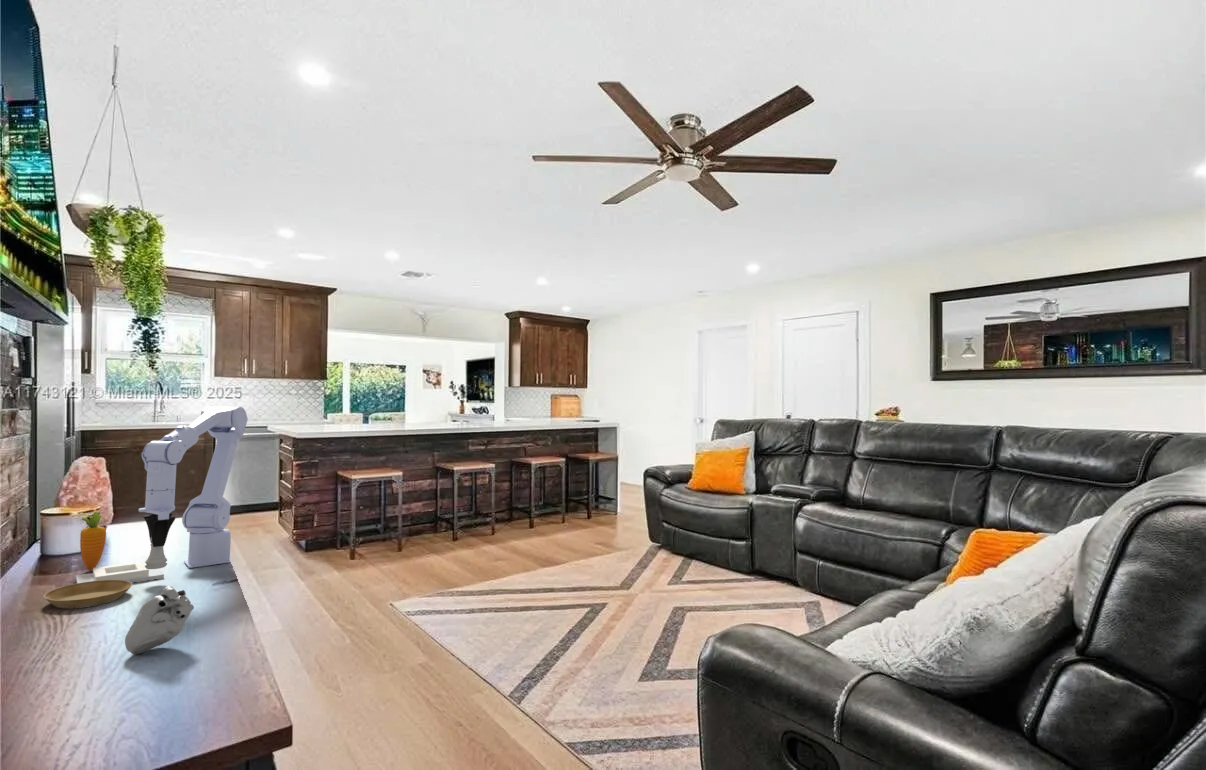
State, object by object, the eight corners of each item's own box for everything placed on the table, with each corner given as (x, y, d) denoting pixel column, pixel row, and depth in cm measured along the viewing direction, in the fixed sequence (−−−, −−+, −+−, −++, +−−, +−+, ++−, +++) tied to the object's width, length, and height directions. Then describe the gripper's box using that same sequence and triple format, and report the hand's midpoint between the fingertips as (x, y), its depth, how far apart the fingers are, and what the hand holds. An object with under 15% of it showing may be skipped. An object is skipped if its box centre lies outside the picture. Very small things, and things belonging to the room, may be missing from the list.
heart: (184, 630, 111) (174, 571, 110) (205, 642, 105) (195, 580, 104) (119, 658, 102) (107, 594, 101) (138, 672, 97) (126, 605, 96)
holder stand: (157, 567, 152) (158, 558, 152) (163, 578, 144) (164, 568, 144) (76, 579, 141) (76, 569, 141) (77, 591, 132) (78, 580, 133)
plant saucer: (128, 586, 138) (129, 575, 138) (135, 602, 127) (135, 590, 127) (43, 599, 127) (43, 587, 127) (42, 618, 117) (43, 605, 117)
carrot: (91, 573, 146) (95, 514, 146) (72, 573, 146) (76, 514, 146) (108, 568, 151) (112, 511, 151) (90, 567, 151) (94, 510, 151)
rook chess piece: (172, 565, 141) (174, 533, 142) (154, 570, 137) (156, 536, 138) (157, 564, 142) (159, 531, 143) (139, 568, 138) (141, 535, 138)
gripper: (136, 487, 143) (133, 541, 142) (143, 494, 133) (140, 553, 132) (171, 485, 148) (168, 537, 147) (181, 491, 138) (177, 548, 137)
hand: (157, 544), depth 140 cm, fingers closed on rook chess piece, 3 cm apart
